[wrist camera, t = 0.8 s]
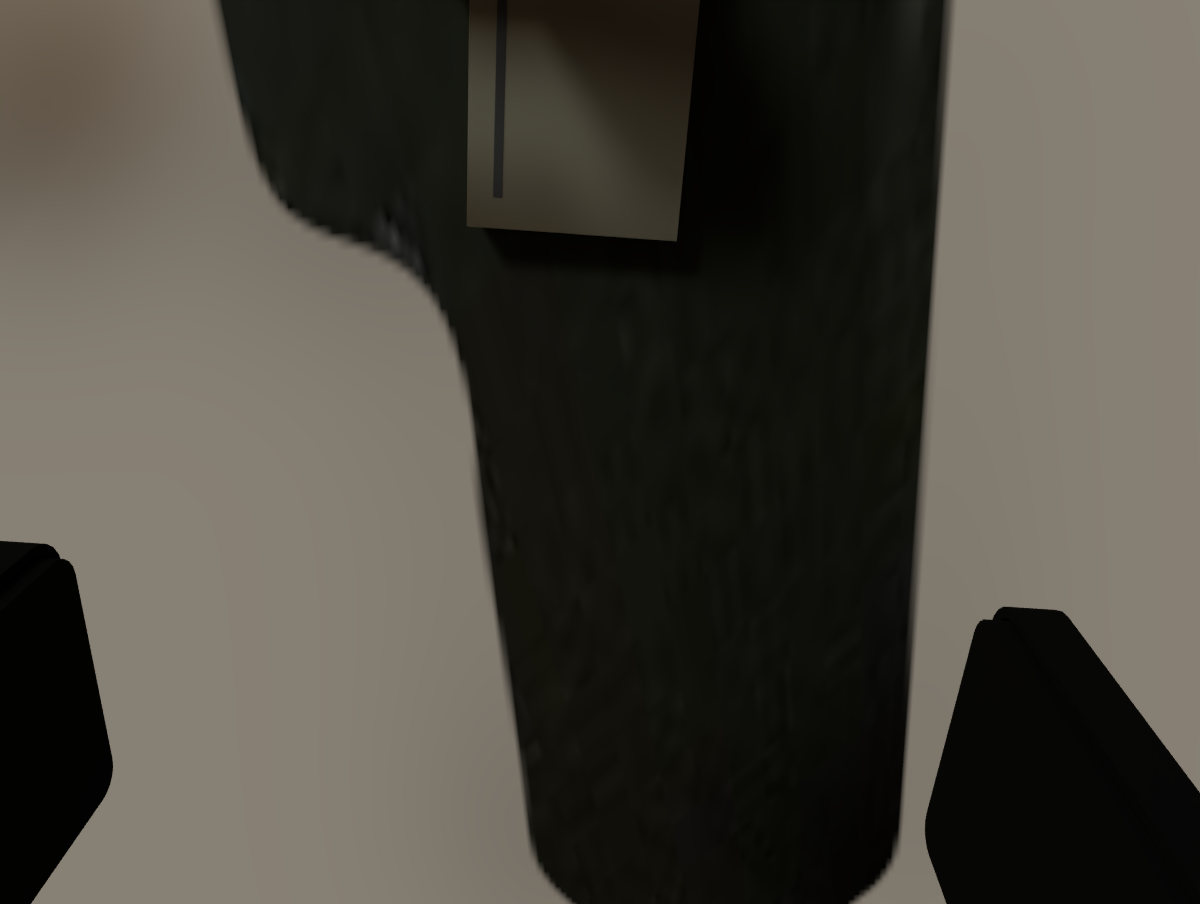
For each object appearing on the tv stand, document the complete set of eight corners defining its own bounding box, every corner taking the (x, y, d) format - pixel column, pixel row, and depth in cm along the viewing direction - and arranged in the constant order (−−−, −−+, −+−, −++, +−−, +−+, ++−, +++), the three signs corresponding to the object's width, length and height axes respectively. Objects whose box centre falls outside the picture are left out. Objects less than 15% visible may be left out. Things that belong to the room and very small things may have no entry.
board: (483, -265, 28) (472, -289, 26) (719, -249, 28) (725, -271, 26) (476, 217, 33) (466, 226, 31) (674, 231, 33) (676, 241, 31)
